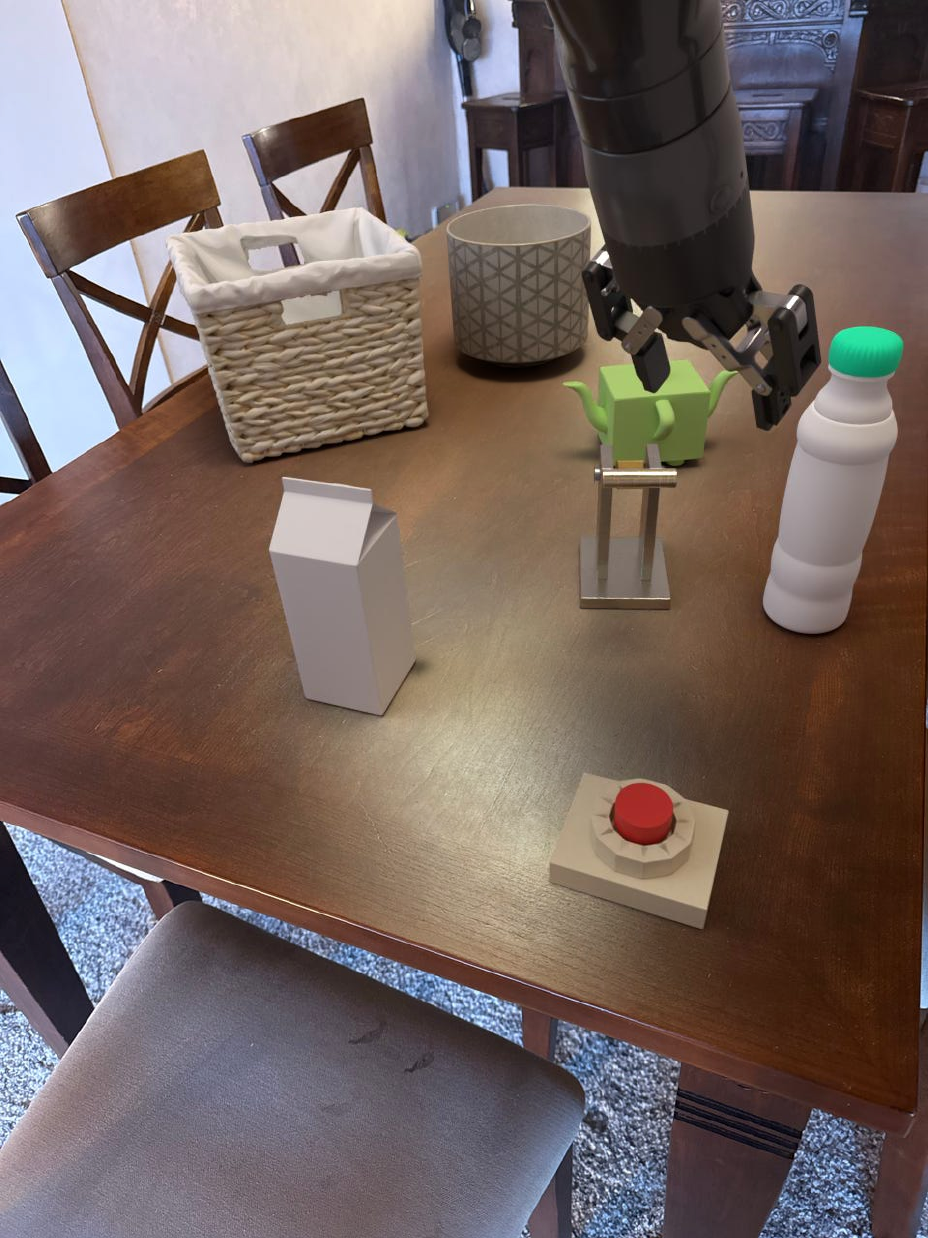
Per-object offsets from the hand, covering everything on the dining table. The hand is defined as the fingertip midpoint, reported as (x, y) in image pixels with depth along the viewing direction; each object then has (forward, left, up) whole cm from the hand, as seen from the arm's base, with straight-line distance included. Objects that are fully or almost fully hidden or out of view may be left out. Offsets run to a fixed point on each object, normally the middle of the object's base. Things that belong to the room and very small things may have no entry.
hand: (712, 400), depth 57 cm
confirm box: (+14, +13, -24) cm, 31 cm away
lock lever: (-1, -9, -12) cm, 15 cm away
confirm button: (+14, +13, -20) cm, 28 cm away
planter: (-24, -64, -24) cm, 72 cm away
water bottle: (-14, 0, -24) cm, 28 cm away
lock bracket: (-4, -13, -24) cm, 27 cm away
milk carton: (+23, -13, -24) cm, 36 cm away
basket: (+7, -66, -24) cm, 71 cm away
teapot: (-21, -31, -24) cm, 44 cm away
